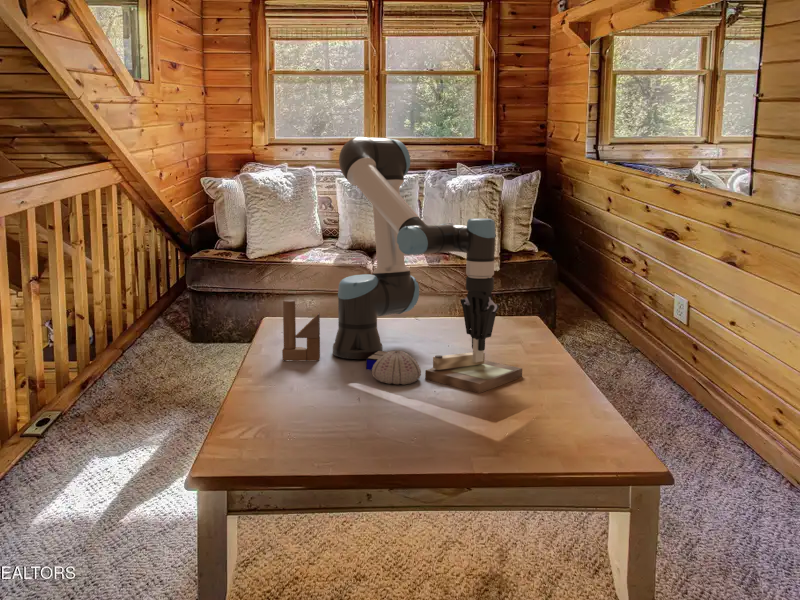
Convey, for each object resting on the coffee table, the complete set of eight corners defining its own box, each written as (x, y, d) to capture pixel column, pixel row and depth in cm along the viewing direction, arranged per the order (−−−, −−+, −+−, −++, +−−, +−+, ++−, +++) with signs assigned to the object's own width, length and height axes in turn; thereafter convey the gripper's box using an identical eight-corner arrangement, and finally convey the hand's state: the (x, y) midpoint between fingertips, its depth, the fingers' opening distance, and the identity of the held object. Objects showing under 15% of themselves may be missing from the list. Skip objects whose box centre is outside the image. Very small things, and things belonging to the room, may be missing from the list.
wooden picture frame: (425, 379, 188) (425, 369, 188) (469, 365, 203) (469, 356, 203) (479, 393, 177) (479, 383, 176) (521, 377, 191) (522, 368, 191)
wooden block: (319, 362, 204) (318, 301, 201) (282, 361, 204) (281, 301, 201) (320, 358, 208) (319, 299, 205) (284, 358, 208) (283, 299, 205)
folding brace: (437, 369, 186) (437, 357, 186) (432, 367, 189) (433, 355, 188) (484, 363, 193) (484, 351, 193) (479, 361, 195) (479, 349, 195)
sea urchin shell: (382, 371, 196) (382, 343, 194) (428, 376, 191) (428, 348, 190) (364, 384, 183) (364, 355, 182) (412, 390, 179) (413, 360, 177)
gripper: (507, 277, 184) (504, 364, 188) (473, 272, 194) (471, 354, 198) (486, 280, 180) (484, 368, 184) (453, 274, 190) (452, 358, 194)
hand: (477, 361), depth 191 cm, fingers closed
